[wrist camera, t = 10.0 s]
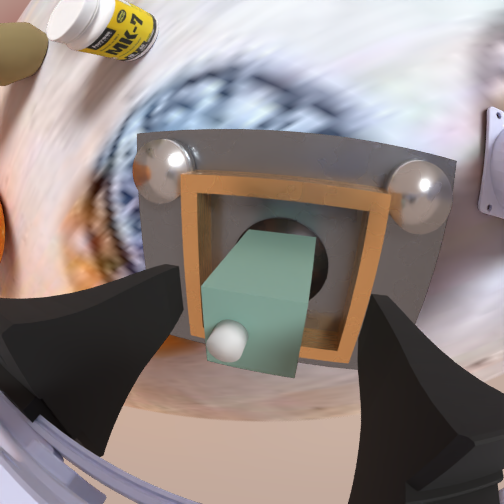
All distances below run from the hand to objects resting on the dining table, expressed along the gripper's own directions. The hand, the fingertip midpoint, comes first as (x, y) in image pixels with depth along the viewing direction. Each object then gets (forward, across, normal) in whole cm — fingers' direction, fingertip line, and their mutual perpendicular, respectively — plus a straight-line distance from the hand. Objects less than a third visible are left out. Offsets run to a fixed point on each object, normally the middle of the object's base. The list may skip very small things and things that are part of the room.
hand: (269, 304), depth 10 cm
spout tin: (+7, +1, +2) cm, 7 cm away
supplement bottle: (+10, +14, -15) cm, 23 cm away
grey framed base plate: (+10, +1, +2) cm, 10 cm away
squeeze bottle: (+10, +30, -19) cm, 38 cm away
